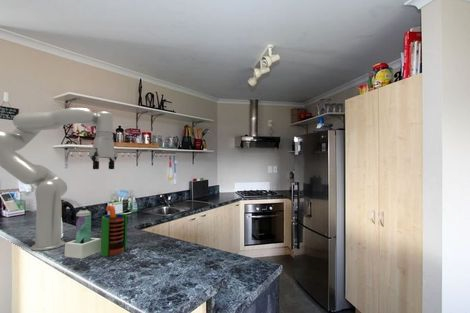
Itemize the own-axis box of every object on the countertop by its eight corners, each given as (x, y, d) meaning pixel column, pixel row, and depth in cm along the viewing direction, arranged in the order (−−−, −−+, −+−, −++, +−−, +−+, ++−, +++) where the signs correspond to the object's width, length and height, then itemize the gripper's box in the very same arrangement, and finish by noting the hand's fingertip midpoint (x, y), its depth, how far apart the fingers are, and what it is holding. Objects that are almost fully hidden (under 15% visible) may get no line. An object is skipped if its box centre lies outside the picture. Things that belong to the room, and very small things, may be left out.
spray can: (84, 251, 109) (85, 205, 110) (93, 252, 106) (94, 206, 107) (72, 255, 103) (73, 207, 105) (81, 256, 101) (82, 208, 102)
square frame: (64, 256, 102) (64, 243, 102) (84, 249, 111) (84, 237, 111) (81, 258, 99) (82, 244, 99) (100, 251, 108) (101, 238, 108)
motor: (113, 257, 100) (114, 208, 101) (95, 255, 102) (95, 207, 103) (129, 249, 110) (129, 204, 111) (111, 248, 112) (112, 204, 113)
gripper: (111, 138, 135) (111, 169, 134) (83, 134, 119) (83, 169, 118) (122, 137, 133) (122, 169, 132) (95, 133, 117) (95, 169, 116)
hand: (103, 169), depth 125 cm, fingers open, 9 cm apart
